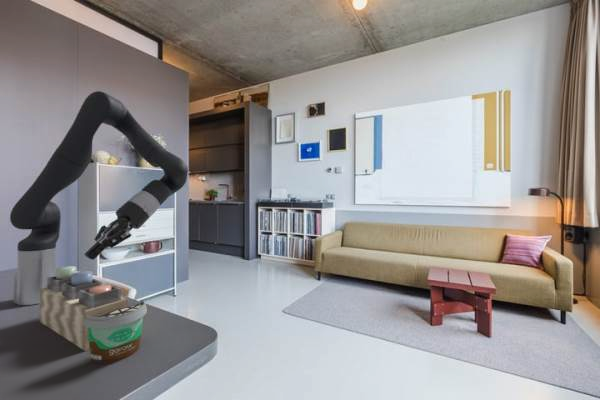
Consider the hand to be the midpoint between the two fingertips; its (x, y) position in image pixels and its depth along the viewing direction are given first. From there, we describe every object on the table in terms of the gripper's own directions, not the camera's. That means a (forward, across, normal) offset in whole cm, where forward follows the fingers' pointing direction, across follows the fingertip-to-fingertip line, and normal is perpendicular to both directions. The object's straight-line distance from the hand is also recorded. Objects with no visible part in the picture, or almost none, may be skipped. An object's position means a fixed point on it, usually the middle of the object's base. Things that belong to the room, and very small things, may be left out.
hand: (88, 257), depth 70 cm
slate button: (+5, -4, +6) cm, 9 cm away
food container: (+14, +18, +14) cm, 27 cm away
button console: (+13, -4, +14) cm, 20 cm away
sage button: (+5, -14, +6) cm, 17 cm away
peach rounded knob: (+7, +6, +8) cm, 12 cm away
